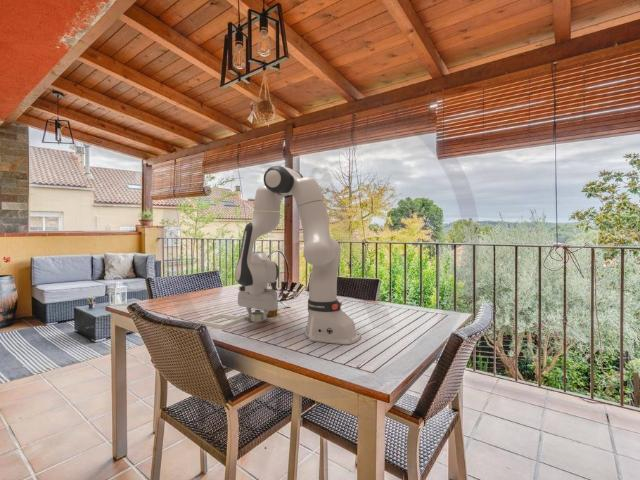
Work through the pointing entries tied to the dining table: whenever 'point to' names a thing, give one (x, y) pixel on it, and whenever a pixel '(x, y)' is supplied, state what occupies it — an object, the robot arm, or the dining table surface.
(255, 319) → the ring
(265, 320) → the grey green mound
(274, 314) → the condiment
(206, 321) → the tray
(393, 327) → the dining table surface
